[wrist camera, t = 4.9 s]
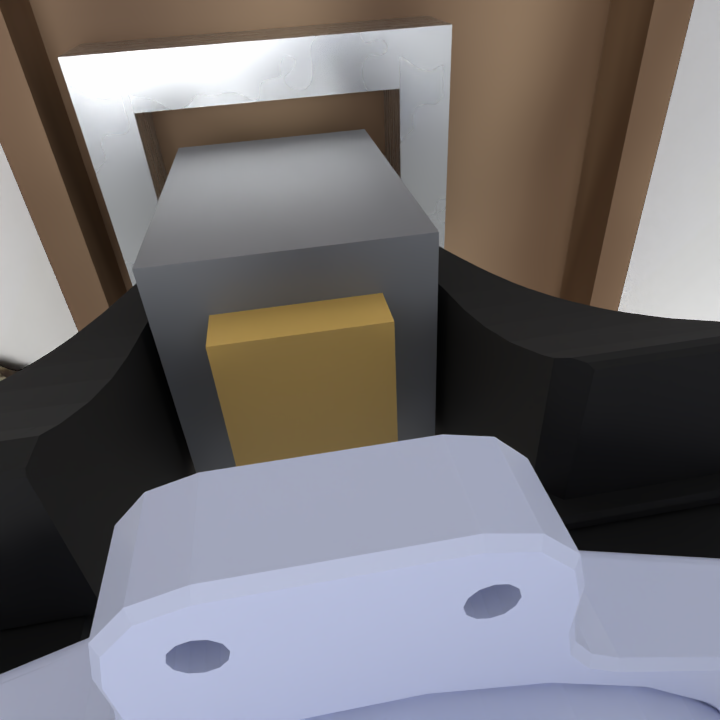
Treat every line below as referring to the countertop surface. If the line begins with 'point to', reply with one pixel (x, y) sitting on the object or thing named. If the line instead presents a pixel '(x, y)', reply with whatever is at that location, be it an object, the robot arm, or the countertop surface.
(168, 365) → the block
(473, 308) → the robot arm
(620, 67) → the tray
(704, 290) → the countertop surface
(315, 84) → the socket
